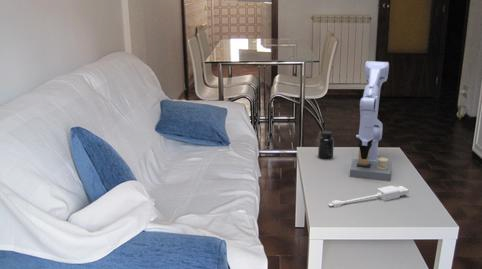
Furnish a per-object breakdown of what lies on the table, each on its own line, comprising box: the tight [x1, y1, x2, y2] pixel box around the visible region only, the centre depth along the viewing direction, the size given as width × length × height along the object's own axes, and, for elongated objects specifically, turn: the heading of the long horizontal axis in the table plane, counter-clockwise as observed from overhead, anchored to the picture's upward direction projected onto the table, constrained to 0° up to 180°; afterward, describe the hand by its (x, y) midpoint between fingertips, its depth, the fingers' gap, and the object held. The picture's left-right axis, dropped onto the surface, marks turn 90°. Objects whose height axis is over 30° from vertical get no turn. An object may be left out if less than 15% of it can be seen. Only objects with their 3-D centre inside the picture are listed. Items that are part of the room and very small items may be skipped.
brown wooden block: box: [358, 148, 370, 165], centre depth 206 cm, size 4×4×7 cm
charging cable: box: [327, 185, 409, 208], centre depth 180 cm, size 5×32×3 cm, turn 110°
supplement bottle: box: [317, 130, 335, 160], centre depth 224 cm, size 7×7×12 cm
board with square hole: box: [349, 156, 392, 182], centre depth 206 cm, size 14×16×7 cm
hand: (364, 157), depth 206 cm, fingers closed on brown wooden block, 4 cm apart
